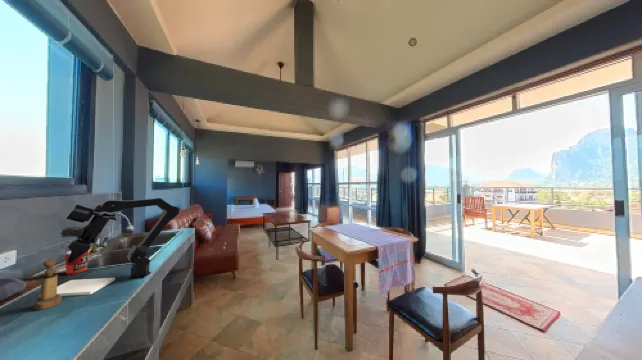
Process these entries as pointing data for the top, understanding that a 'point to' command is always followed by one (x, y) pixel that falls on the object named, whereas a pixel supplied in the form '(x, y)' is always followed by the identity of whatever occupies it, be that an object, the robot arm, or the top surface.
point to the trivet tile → (82, 286)
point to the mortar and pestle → (48, 288)
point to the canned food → (77, 264)
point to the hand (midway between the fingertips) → (72, 258)
